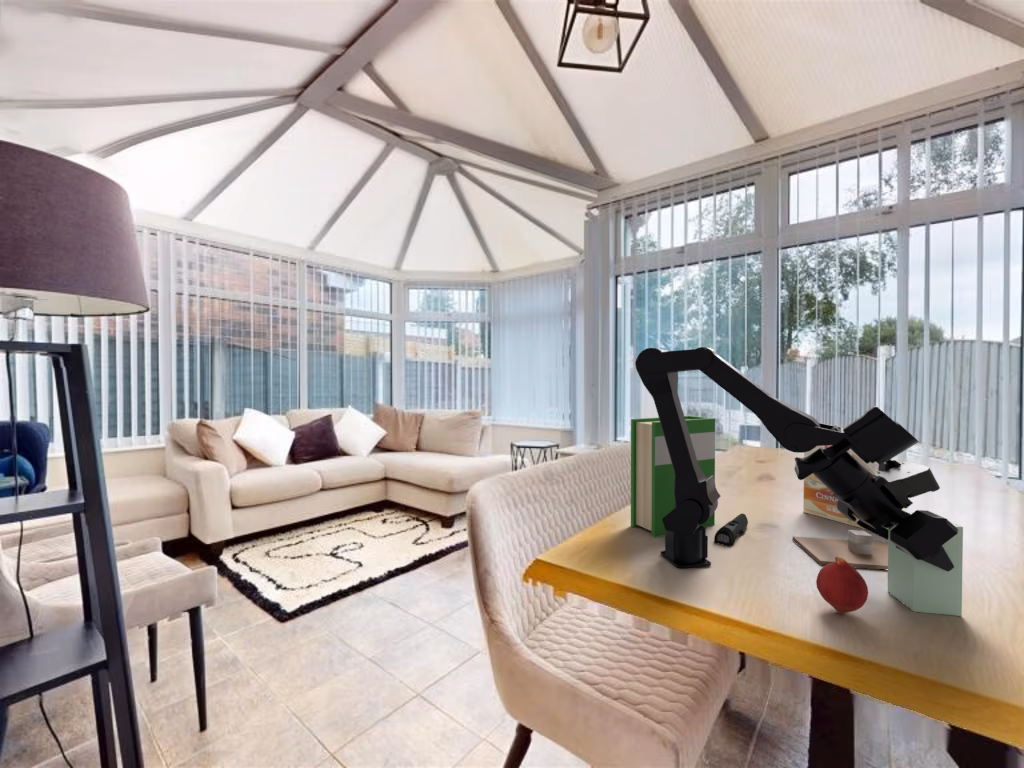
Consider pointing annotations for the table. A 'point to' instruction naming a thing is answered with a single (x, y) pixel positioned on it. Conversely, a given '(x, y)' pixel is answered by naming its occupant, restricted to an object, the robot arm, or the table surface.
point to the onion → (842, 586)
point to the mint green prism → (927, 579)
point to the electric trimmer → (731, 530)
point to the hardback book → (663, 469)
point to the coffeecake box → (828, 493)
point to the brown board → (847, 550)
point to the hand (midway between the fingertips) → (934, 559)
